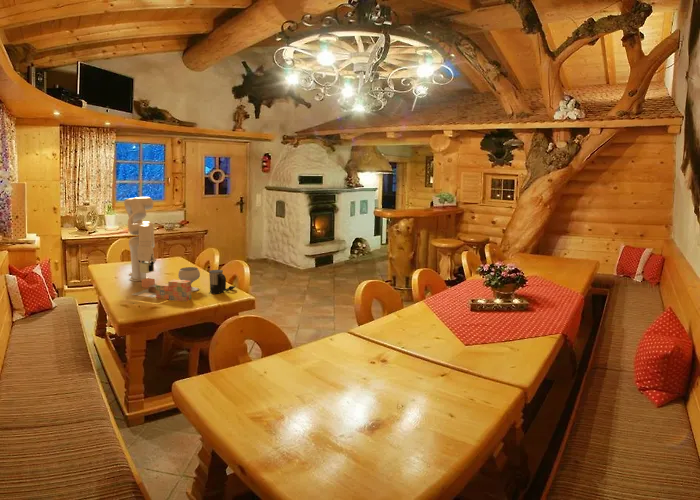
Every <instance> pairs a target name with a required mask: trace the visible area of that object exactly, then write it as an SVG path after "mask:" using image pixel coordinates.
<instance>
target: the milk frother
mask: <svg viewBox="0 0 700 500" xmlns="http://www.w3.org/2000/svg"><path fill="white" fill-rule="evenodd" d="M223 272H224V270H223V269H212V270H209V271H208V273H209V293H210V294H211V295H212V294H213V295H216V294H222V293H224V292H226V291H229V290H230V291H232V290H233V289H235V288H236V285H234V286H233V285H230V286H229V287H226V286H227V282H226V281H227V279H226V275H225V274H224V273H223ZM231 289H232V290H231Z"/></svg>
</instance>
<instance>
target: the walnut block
mask: <svg viewBox="0 0 700 500" xmlns="http://www.w3.org/2000/svg"><path fill="white" fill-rule="evenodd" d="M157 284H158V283H155V284H154V285H150V286H148V288H147V289H148V291H149V292H152V293H156V286H155V285H157Z"/></svg>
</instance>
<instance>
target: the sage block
mask: <svg viewBox="0 0 700 500" xmlns="http://www.w3.org/2000/svg"><path fill="white" fill-rule="evenodd" d="M140 272H143V273H146V274H149V273H152V272H155V265H153V271H149V263H148V261H145V262H143V263H140Z"/></svg>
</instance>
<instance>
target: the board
mask: <svg viewBox="0 0 700 500" xmlns="http://www.w3.org/2000/svg"><path fill="white" fill-rule="evenodd" d="M132 295H133V296H139V297H145V298H147V297H148V298H155V297H156V293H152V292H149V291H148V288H145V289H143V290H141V291H138V292H133V293H131V296H132Z"/></svg>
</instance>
